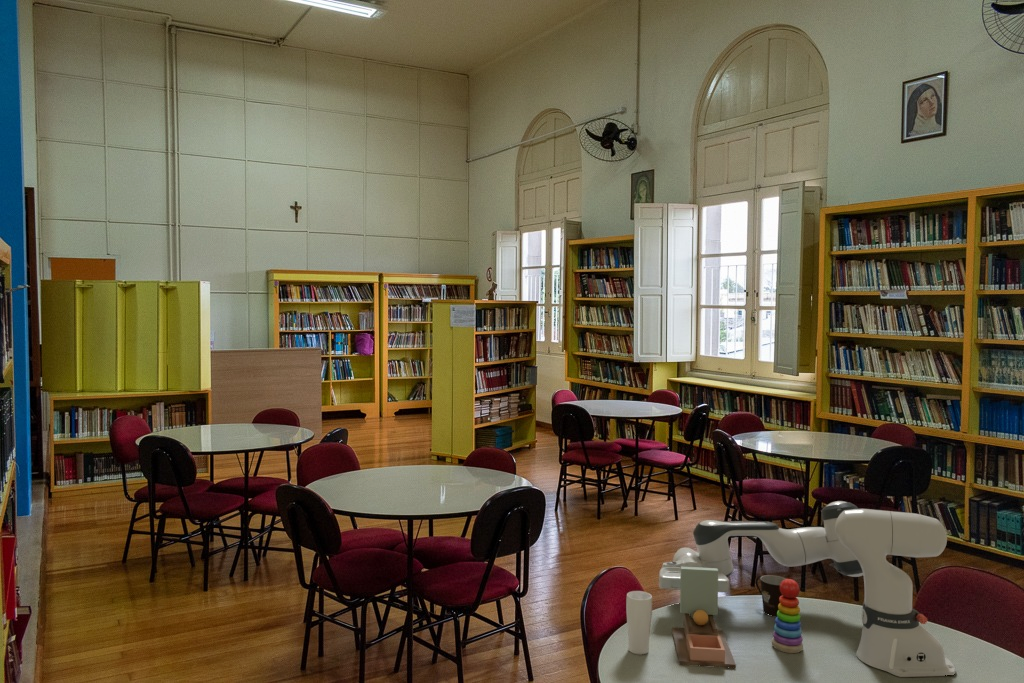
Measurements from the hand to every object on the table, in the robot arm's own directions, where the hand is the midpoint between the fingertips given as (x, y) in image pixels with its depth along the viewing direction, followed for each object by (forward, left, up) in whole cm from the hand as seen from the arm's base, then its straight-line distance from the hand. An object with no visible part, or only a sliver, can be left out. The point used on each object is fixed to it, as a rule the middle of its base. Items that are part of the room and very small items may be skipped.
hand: (696, 590), depth 210 cm
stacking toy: (-23, +9, -11) cm, 27 cm away
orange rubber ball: (0, +9, -4) cm, 10 cm away
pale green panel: (0, +5, -6) cm, 7 cm away
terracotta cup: (0, +19, -11) cm, 22 cm away
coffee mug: (-25, -17, -11) cm, 32 cm away
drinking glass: (+17, +17, -11) cm, 26 cm away
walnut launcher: (0, +13, -11) cm, 17 cm away
